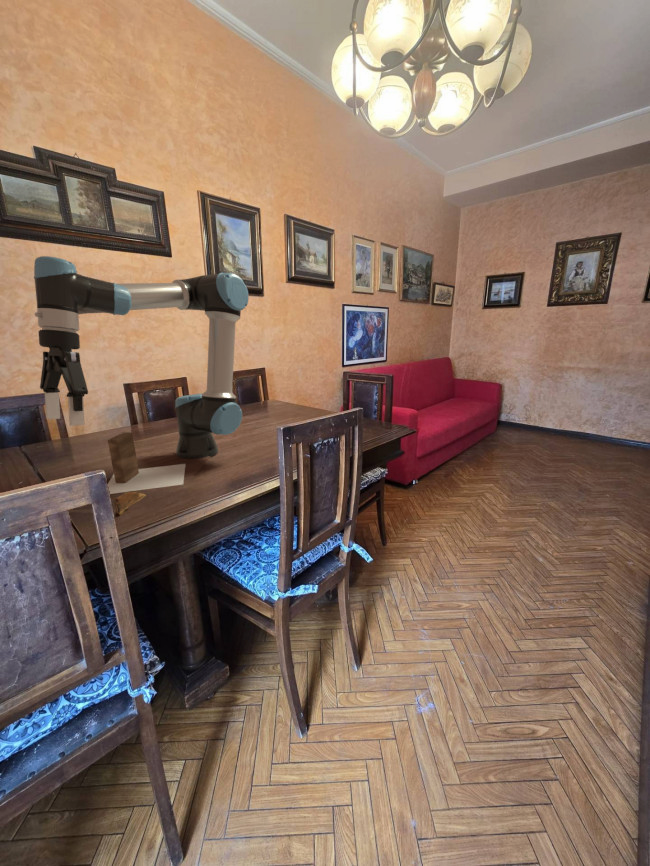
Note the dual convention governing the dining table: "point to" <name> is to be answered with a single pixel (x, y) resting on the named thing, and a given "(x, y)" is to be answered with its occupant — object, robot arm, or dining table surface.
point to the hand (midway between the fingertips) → (64, 422)
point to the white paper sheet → (150, 479)
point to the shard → (127, 501)
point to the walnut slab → (123, 457)
